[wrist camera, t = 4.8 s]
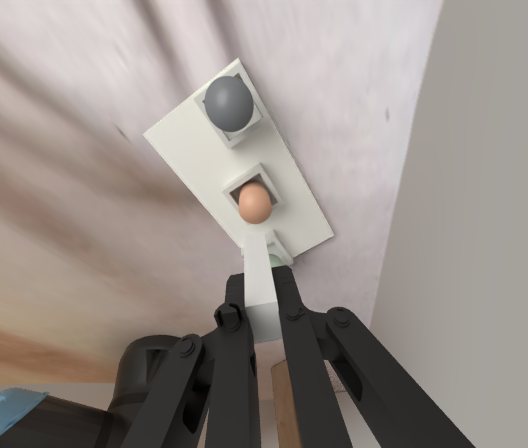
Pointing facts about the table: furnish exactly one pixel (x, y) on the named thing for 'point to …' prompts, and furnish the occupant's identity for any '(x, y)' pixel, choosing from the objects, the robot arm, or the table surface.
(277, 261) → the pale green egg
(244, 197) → the terracotta plunger
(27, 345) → the table surface
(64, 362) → the table surface
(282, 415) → the wooden block
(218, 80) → the charcoal plunger
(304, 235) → the button board
